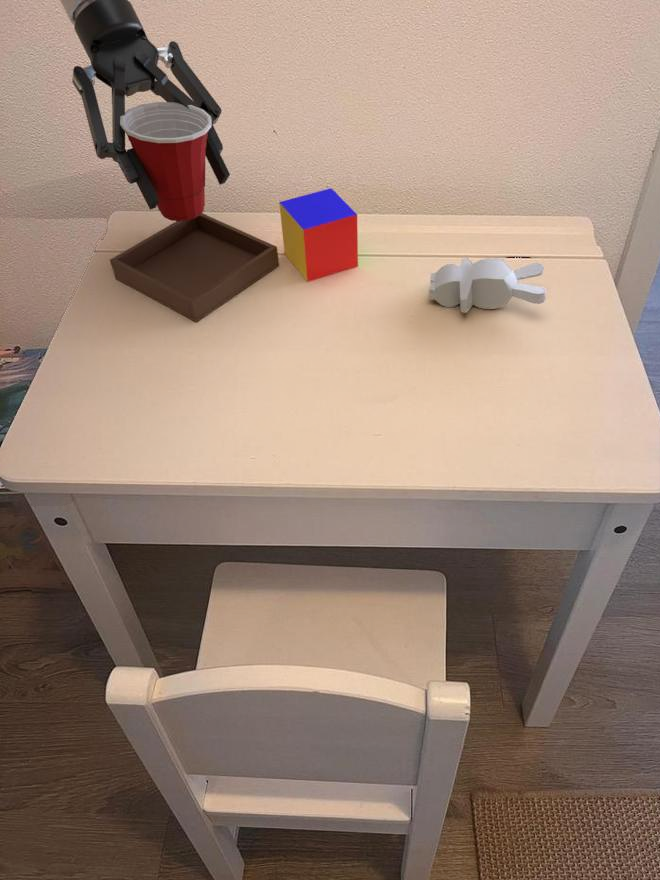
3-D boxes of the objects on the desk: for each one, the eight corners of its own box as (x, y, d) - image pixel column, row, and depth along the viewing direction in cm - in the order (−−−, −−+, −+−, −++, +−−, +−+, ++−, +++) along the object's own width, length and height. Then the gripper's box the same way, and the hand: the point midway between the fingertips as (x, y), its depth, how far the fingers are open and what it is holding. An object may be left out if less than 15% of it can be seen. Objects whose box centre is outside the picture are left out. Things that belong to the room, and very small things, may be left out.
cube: (307, 281, 101) (303, 229, 95) (284, 253, 105) (279, 202, 99) (357, 266, 103) (357, 214, 97) (333, 239, 108) (331, 188, 101)
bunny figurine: (431, 251, 98) (543, 245, 96) (433, 283, 102) (541, 278, 100) (427, 292, 92) (547, 287, 90) (430, 324, 96) (545, 320, 94)
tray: (115, 279, 101) (109, 259, 99) (199, 228, 110) (195, 209, 107) (196, 322, 95) (191, 303, 93) (279, 265, 103) (277, 246, 101)
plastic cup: (234, 222, 93) (221, 128, 84) (151, 239, 90) (127, 143, 81) (214, 183, 99) (199, 91, 90) (136, 197, 97) (112, 105, 88)
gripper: (177, 12, 94) (256, 177, 98) (12, 53, 86) (106, 231, 90) (188, -26, 87) (273, 153, 91) (11, 14, 79) (112, 209, 83)
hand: (190, 191), depth 90 cm, fingers closed on plastic cup, 9 cm apart
